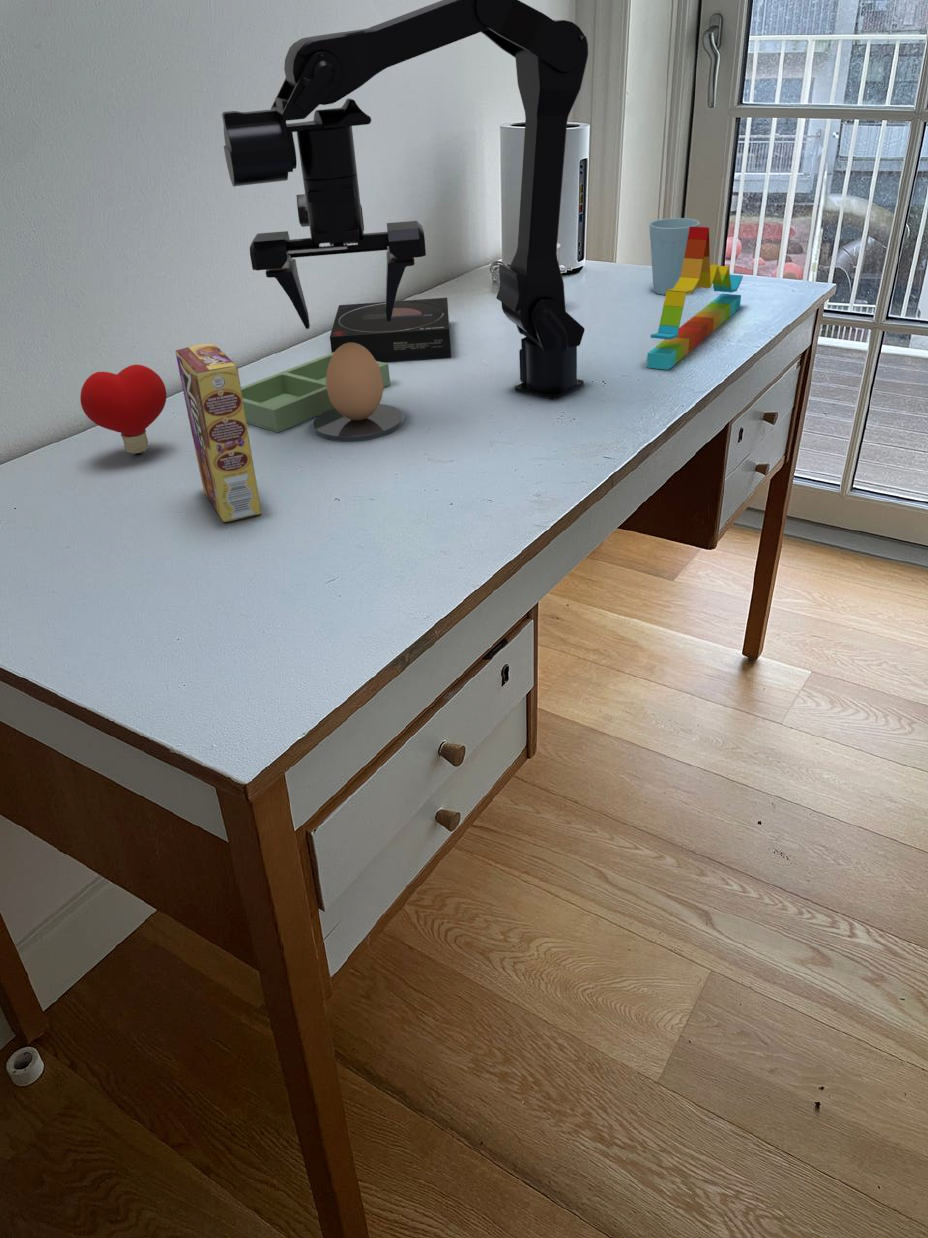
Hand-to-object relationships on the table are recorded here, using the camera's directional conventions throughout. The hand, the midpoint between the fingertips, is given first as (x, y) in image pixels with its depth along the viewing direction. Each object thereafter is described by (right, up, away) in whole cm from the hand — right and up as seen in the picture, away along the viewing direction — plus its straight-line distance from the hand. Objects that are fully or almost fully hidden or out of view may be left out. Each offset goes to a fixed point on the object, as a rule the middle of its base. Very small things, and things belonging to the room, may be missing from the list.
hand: (348, 324), depth 111 cm
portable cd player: (+3, +7, +32) cm, 33 cm away
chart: (+46, +6, +27) cm, 53 cm away
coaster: (+1, -10, +6) cm, 12 cm away
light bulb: (-24, -15, +2) cm, 29 cm away
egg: (+1, -10, +6) cm, 11 cm away
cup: (+47, +19, +47) cm, 69 cm away
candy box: (-11, -22, -11) cm, 26 cm away
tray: (-7, -6, +14) cm, 16 cm away
